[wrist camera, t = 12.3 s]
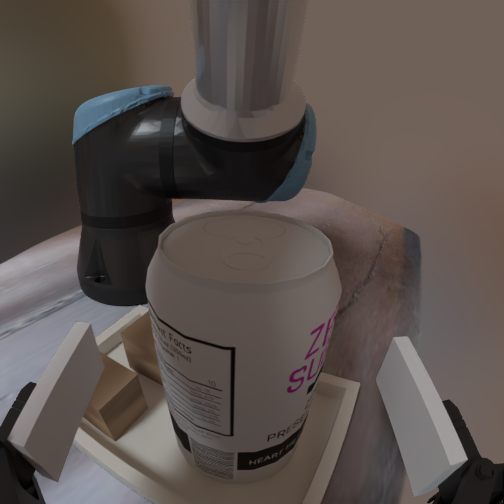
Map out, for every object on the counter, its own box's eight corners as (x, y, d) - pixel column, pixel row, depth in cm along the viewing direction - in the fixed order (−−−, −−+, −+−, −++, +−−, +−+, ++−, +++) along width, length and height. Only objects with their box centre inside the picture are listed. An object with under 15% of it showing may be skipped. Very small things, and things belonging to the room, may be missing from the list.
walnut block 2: (129, 367, 24) (120, 332, 23) (157, 342, 28) (151, 308, 26) (165, 387, 23) (158, 352, 21) (192, 358, 26) (189, 323, 24)
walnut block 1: (79, 414, 19) (61, 380, 17) (111, 385, 22) (99, 350, 20) (115, 441, 17) (98, 410, 16) (147, 408, 21) (137, 374, 19)
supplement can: (183, 393, 22) (164, 205, 16) (288, 394, 23) (321, 210, 16) (173, 484, 15) (111, 289, 9) (303, 484, 16) (382, 294, 9)
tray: (36, 409, 19) (26, 391, 18) (142, 322, 31) (139, 304, 30) (287, 563, 11) (294, 559, 10) (353, 400, 23) (360, 382, 22)
